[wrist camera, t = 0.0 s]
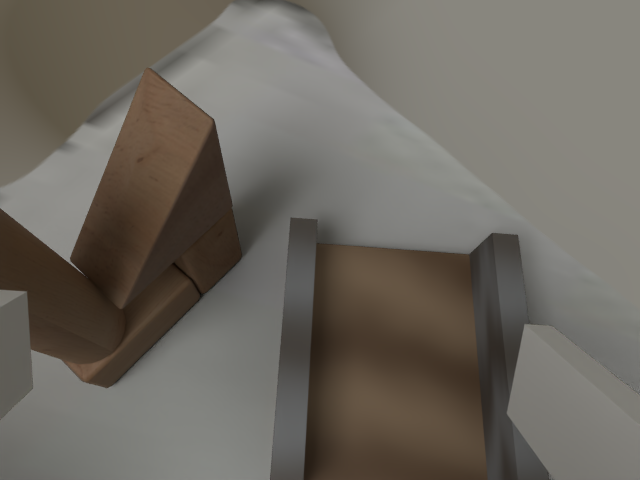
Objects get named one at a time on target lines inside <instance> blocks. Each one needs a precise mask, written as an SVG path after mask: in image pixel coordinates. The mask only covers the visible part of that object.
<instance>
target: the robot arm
mask: <svg viewBox="0 0 640 480" xmlns="http://www.w3.org/2000/svg"><path fill="white" fill-rule="evenodd" d="M32 389H33V378H32V362H31V347H30V332H29V316H28V301H27V291H11V290H0V420H1V419H2V418H3V417H4V416H5V415H6V414H7V413H8V412H9V411H10V410H11V409H12V408H13V407H14V406H15V405H16V404H17V403H18V402H19V401H20V400H21V399H22V398H23V397H24V396H25V395H26V394H27V393H28V392H30V391H31V390H32ZM507 415H508V416H509V418H510V419H511V420H512V422H513V423H514V425H515V426H516V427H517V429H518V430H519V432H520V433H521V434H522V436H523V437H524V439H525V440H526V441H527V443H528V444H529V446H530V447H531V448H532V450H533V451H534V452H535V454H536V455H537V457H538V458H539V459H540V461H541V462H542V464H543V465H544V466H545V468H546V469H547V471H548V472H549V473H550V475H551V476H552V478H553V479H554V480H640V395H639V394H637V393H636V392H635V391H634V390H632V389H631V388H630V387H628V386H627V385H626V384H625V383H623V382H622V381H621V380H620V379H618V378H617V377H616V376H615V375H613V374H612V373H611V372H610V371H608V370H607V369H606V368H604V367H603V366H602V365H601V364H599V363H598V362H597V361H596V360H594V359H593V358H592V357H591V356H589V355H588V354H587V353H586V352H584V351H583V350H582V349H580V348H579V347H578V346H577V345H575V344H574V343H573V342H572V341H570V340H569V339H568V338H567V337H565V336H564V335H563V334H562V333H560V332H559V331H558V330H557V329H555V328H554V327H553V326H546V325H531V324H525V325H524V330H523V335H522V340H521V345H520V350H519V355H518V360H517V365H516V370H515V375H514V380H513V385H512V390H511V394H510V399H509V404H508V409H507Z"/></svg>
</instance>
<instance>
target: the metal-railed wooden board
mask: <svg viewBox="0 0 640 480" xmlns="http://www.w3.org/2000/svg"><path fill="white" fill-rule="evenodd" d="M317 222H318V220H315V219H302V218H291V221H290V233H289V246H288V259H287V271H286V284H285V297H284V309H283V322H282V335H281V347H280V360H279V373H278V385H277V398H276V411H275V423H274V436H273V449H272V461H271V474H270V480H549V476H548V471H547V469H546V468H545V466H544V465H543V464H542V462H541V461H540V459H539V458H538V457H537V455H536V454H535V452H534V451H533V450H532V448H531V447H530V446H529V444H528V443H527V441H526V440H525V439H524V437H523V436H522V434H521V433H520V432H519V430H518V429H517V427H516V426H515V425H514V423H513V422H512V420H511V419H510V418H509V416H508V415H507V409H508V404H509V399H510V394H511V390H512V385H513V380H514V375H515V370H516V365H517V360H518V355H519V350H520V345H521V340H522V335H523V330H524V325H525V324H529V318H528V310H527V303H526V295H525V287H524V279H523V271H522V263H521V255H520V248H519V240H518V235H511V234H498V233H492V234H491V235H490V236H489V237H488V238H486V239H485V240H484V241H483V242H482V243H481V244H480V245H479V246H478V247H477V248H476V249H475V250H474V251H473V252H471V253H470V254H469V255H468V254H455V253H441V252H427V251H414V250H400V249H387V248H373V247H360V246H346V245H333V244H319V243H316V240H317Z"/></svg>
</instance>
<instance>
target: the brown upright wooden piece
mask: <svg viewBox="0 0 640 480" xmlns="http://www.w3.org/2000/svg"><path fill="white" fill-rule="evenodd" d="M232 206H233V205H232V201H231V196H230V191H229V186H228V182H227V177H226V172H225V167H224V163H223V158H222V153H221V149H220V144H219V139H218V134H217V130H216V125H215V121H214V119H213V118H212V117H210V116H209V115H208V114H207V113H205V112H204V111H203V110H202V109H200V108H199V107H198V106H197V105H195V104H194V103H193V102H192V101H190V100H189V99H188V98H187V97H186V96H184V95H183V94H182V93H181V92H179V91H178V90H177V89H176V88H174V87H173V86H172V85H171V84H169V83H168V82H167V81H166V80H165V79H163V78H162V77H161V76H160V75H158V74H157V73H156V72H155V71H153V70H152V69H151V68H146V69H145V71H144V73H143V76H142V78H141V81H140V83H139V86H138V88H137V91H136V93H135V96H134V98H133V101H132V103H131V106H130V108H129V111H128V113H127V116H126V118H125V121H124V123H123V126H122V128H121V131H120V133H119V136H118V138H117V141H116V144H115V146H114V149H113V151H112V154H111V156H110V159H109V161H108V164H107V166H106V169H105V171H104V174H103V176H102V179H101V181H100V184H99V186H98V189H97V191H96V194H95V196H94V199H93V201H92V204H91V206H90V209H89V211H88V214H87V217H86V219H85V222H84V224H83V227H82V229H81V232H80V234H79V237H78V239H77V242H76V244H75V247H74V249H73V252H72V254H71V257H70V261H71V262H72V263H73V264H74V265H75V266H76V267H77V268H78V269H79V270H80V271H81V272H82V273H83V274H84V275H85V276H84V275H83V274H82V273H81V272H79V271H78V270H77V269H76V268H74V267H73V266H72V265H71V264H69V263H68V262H67V261H66V260H64V259H63V258H62V257H61V256H59V255H58V254H57V253H56V252H54V251H53V250H52V249H51V248H49V247H48V246H47V245H46V244H44V243H43V242H42V241H41V240H39V239H38V238H37V237H35V236H34V235H33V234H32V233H30V232H29V231H28V230H27V229H25V228H24V227H23V226H22V225H20V224H19V223H18V222H17V221H15V220H14V219H13V218H12V217H10V216H9V215H8V214H7V213H5V212H4V211H3V210H2V209H0V290H11V291H27V301H28V316H29V332H30V347H31V350H34V351H37V352H40V353H43V354H46V355H50V356H53V357H56V358H59V359H61V360H62V361H63V362H64V363H65V364H66V365H67V366H68V367H69V368H70V369H71V370H72V371H73V372H74V373H75V374H76V375H77V376H78V377H79V379H80V380H81V381H83V382H86V383H89V384H93V385H97V386H101V387H105V388H108V387H110V386H112V385H113V384H114V383H115V382H116V381H117V380H118V379H119V378H120V377H121V376H122V375H123V374H124V373H125V372H126V371H127V370H128V369H129V368H130V367H131V366H132V365H133V364H134V363H135V362H136V361H137V360H138V359H139V358H140V357H141V356H142V355H143V354H144V353H145V352H146V351H147V350H148V349H149V348H150V347H151V346H152V345H153V344H154V343H155V342H156V341H158V340H159V339H160V338H161V337H162V336H163V335H164V334H165V333H166V332H167V331H168V330H169V329H170V328H171V327H172V326H173V325H174V324H175V323H176V322H177V321H178V320H179V319H180V318H181V317H182V316H183V315H184V314H185V313H186V312H187V311H188V310H189V309H190V308H191V307H192V306H193V305H194V304H195V303H196V302H197V301H198V300H199V298H200V294H199V293H202V294H203V293H206V292H207V291H208V290H209V289H210V288H211V287H212V286H213V285H214V284H215V283H216V282H217V281H218V280H220V279H221V278H222V277H223V276H224V275H225V274H226V273H227V272H228V271H229V270H230V269H231V268H232V267H233V266H234V265H235V264H236V263H237V262H238V261H239V260H240V259H241V256H242V253H241V248H240V243H239V239H238V234H237V229H236V225H235V220H234V215H233V211H232Z"/></svg>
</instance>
